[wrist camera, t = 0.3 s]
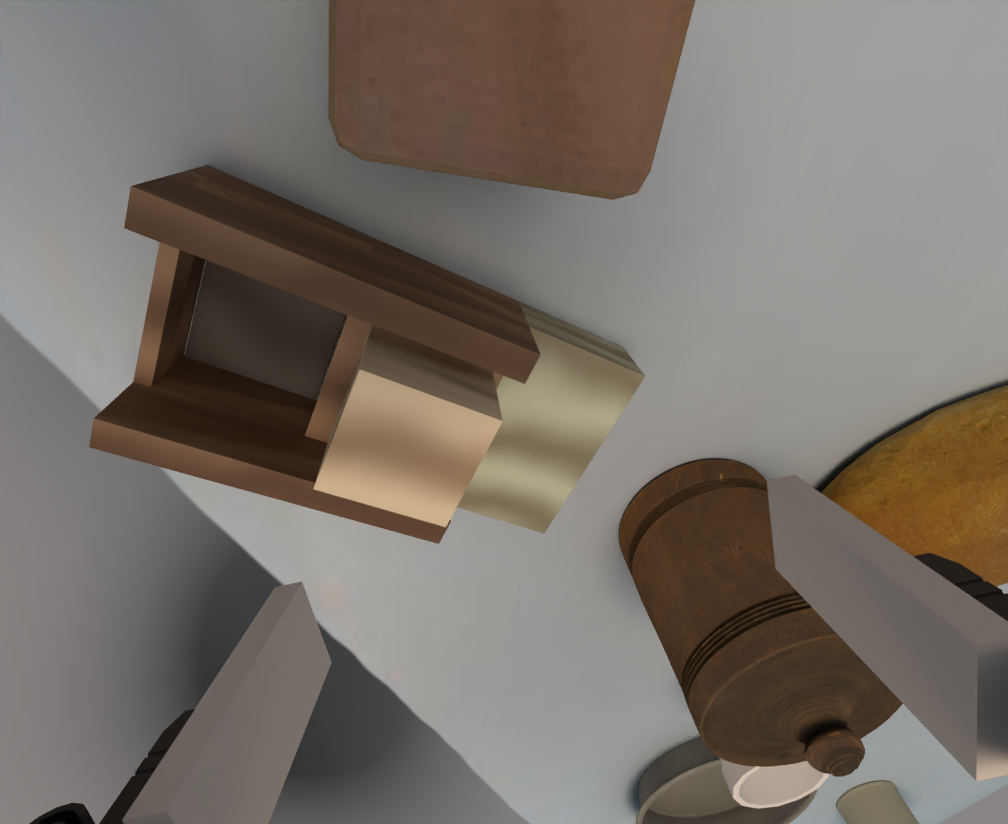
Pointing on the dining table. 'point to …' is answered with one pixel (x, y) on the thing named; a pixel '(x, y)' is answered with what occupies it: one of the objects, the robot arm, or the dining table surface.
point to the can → (875, 805)
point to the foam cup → (771, 783)
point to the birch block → (410, 429)
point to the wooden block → (507, 87)
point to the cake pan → (700, 792)
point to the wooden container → (745, 626)
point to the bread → (939, 485)
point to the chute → (336, 355)
